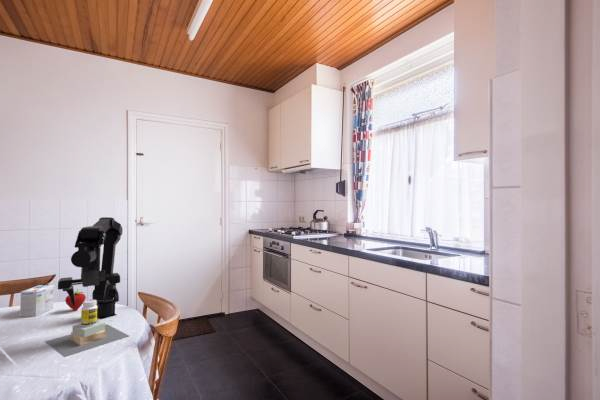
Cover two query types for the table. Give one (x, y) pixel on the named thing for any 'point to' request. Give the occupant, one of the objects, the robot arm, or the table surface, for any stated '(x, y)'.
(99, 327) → the tower top
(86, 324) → the supplement bottle
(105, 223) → the robot arm
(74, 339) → the tower bottom
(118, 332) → the mat
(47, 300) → the light bulb box
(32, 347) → the table surface
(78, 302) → the strawberry
